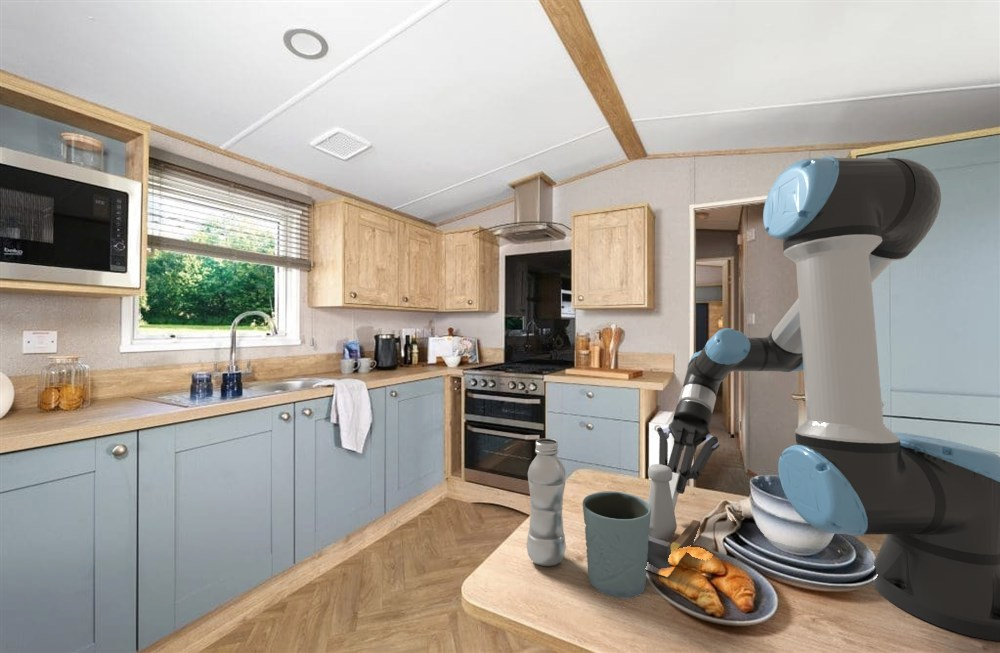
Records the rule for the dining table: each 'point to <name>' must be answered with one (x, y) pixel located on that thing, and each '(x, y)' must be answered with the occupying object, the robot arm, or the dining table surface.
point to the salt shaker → (661, 503)
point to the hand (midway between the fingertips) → (669, 505)
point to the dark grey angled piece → (670, 546)
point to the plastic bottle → (546, 505)
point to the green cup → (617, 542)
